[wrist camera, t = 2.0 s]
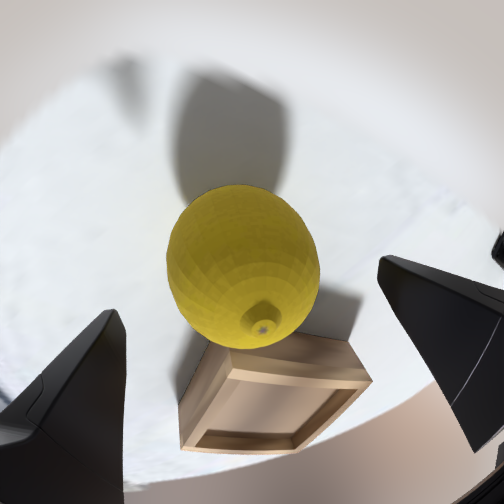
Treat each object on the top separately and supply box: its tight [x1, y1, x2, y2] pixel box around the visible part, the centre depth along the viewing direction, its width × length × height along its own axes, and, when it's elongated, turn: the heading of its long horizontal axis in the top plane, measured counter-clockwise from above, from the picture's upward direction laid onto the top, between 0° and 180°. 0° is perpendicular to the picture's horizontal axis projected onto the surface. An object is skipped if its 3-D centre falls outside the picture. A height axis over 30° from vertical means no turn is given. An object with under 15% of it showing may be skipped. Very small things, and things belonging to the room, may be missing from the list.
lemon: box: [166, 185, 320, 349], centre depth 11 cm, size 6×6×8 cm
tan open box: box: [178, 332, 373, 455], centre depth 19 cm, size 10×10×4 cm
